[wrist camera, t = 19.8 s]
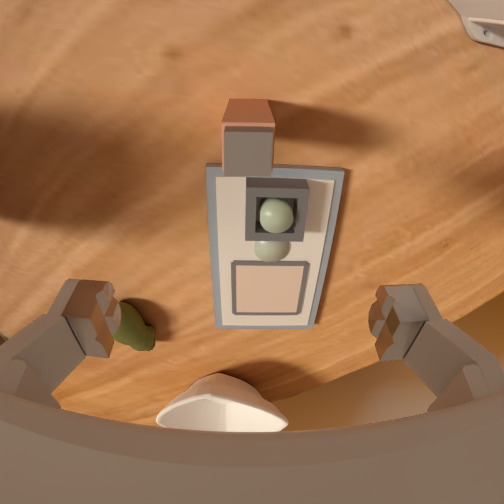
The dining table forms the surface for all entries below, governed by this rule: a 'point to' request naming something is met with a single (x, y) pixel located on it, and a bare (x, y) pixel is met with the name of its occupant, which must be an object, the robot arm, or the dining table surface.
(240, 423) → the bowl
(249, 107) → the terracotta rectangular block
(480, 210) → the dining table surface
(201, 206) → the dining table surface
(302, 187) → the button housing
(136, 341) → the pear
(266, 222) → the button
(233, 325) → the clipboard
